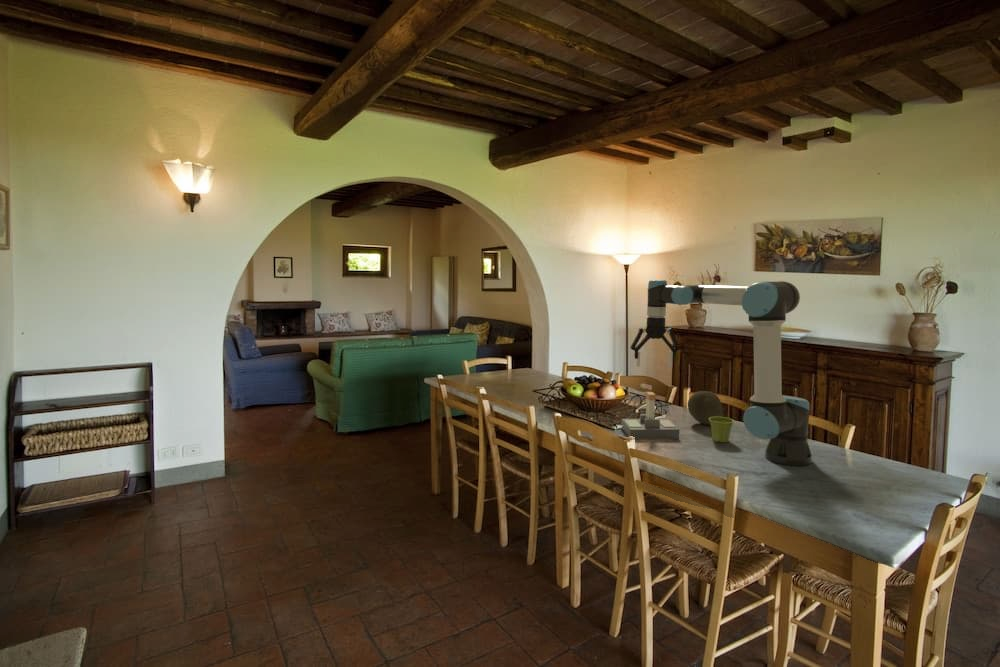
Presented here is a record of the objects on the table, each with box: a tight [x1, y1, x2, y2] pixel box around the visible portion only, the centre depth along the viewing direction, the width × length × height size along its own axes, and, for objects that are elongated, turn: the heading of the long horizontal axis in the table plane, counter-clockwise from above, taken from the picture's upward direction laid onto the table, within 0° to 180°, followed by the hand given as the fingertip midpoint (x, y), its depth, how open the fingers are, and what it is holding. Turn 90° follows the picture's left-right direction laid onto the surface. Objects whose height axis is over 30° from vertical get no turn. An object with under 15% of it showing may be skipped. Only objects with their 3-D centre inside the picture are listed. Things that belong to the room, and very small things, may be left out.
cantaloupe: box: [687, 390, 723, 426], centre depth 249 cm, size 14×14×15 cm
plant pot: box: [709, 416, 735, 443], centre depth 226 cm, size 9×9×9 cm
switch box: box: [621, 413, 681, 440], centre depth 236 cm, size 16×20×7 cm
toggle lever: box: [645, 391, 656, 419], centre depth 235 cm, size 5×3×13 cm, turn 0°
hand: (654, 366), depth 239 cm, fingers open, 13 cm apart
